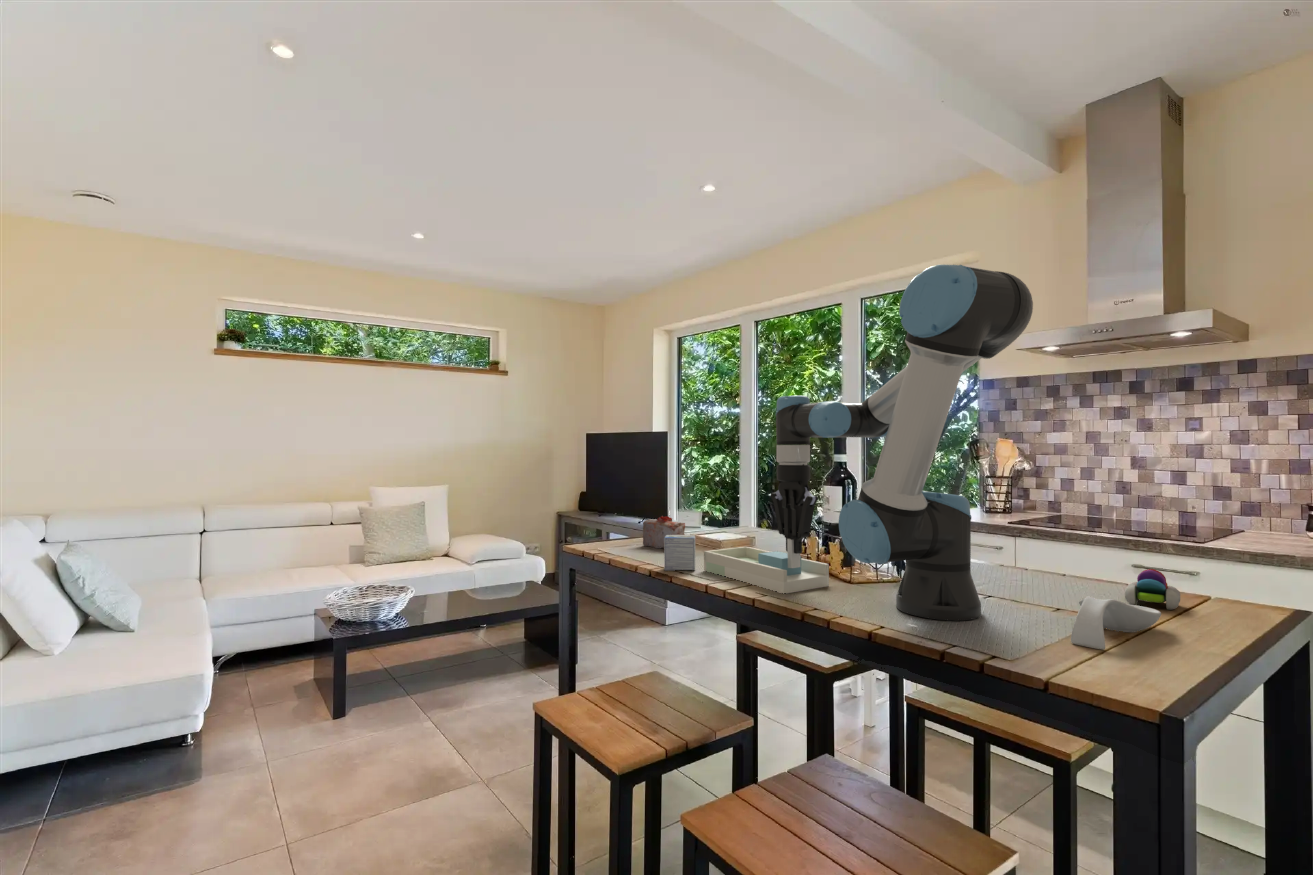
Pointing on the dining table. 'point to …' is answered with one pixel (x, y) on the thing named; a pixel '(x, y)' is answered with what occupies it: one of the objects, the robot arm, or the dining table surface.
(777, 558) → the block
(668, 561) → the grey upright rectangular block
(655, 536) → the gift box with bow
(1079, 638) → the spoon rest
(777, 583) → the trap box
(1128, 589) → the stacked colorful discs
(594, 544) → the dining table surface
